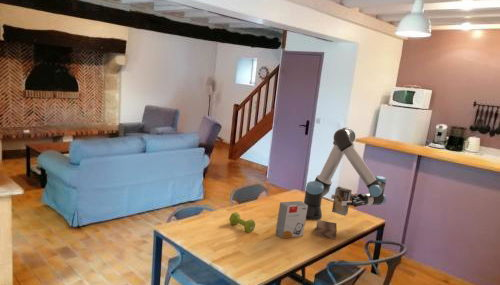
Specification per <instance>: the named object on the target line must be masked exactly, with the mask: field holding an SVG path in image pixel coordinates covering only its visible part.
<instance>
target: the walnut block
mask: <svg viewBox="0 0 500 285" xmlns="http://www.w3.org/2000/svg"><path fill="white" fill-rule="evenodd" d="M315 225H316V226H315V234H314V235H315V237H320V238H324V239H325V238H326V239H329V240H336V236H337V222H331V221H327V220H321V219H318V220H316V224H315Z"/></svg>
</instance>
